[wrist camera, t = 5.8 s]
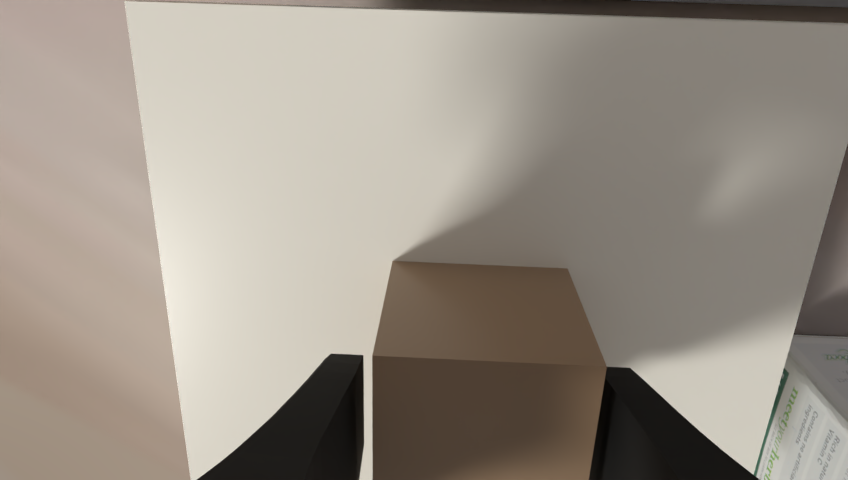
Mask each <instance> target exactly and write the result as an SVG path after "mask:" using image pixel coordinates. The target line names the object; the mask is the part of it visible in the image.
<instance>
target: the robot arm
mask: <svg viewBox="0 0 848 480" xmlns="http://www.w3.org/2000/svg"><path fill="white" fill-rule="evenodd" d="M363 449H364V362H363V355H352V354H330V355H329V356H328V357H326V358H325V359H324V360H323V362H322V363H321V364H320V365H319V366H318V367H317V369H316V370H315V371H314V372H313V373H312V374H311V375H310V377H309V378H308V379H307V380H306V381H305V382H304V383H303V384H302V385H301V387H300V388H299V389H298V390H297V391H296V392H295V393H294V394H293V395H292V396H291V397H290V398H289V399H288V400H287V401H286V402H285V403H284V404H283V405H282V406H281V407H280V409H279V410H278V411H277V412H276V413H275V414H274V415H273V416H272V417H271V418H270V419H269V420H268V421H266V422H265V423H264V424H263V425H262V426H261V427H260V428H259V429H258V430H257V431H255V432H254V433H253V434H252V435H251V436H250V437H249V438H248V439H247V440H246V441H244V442H243V443H242V444H241V445H240V446H239V447H238V448H237V449H235V450H234V451H233V452H232V453H231V454H229V455H228V456H227V457H226V458H225V459H223V460H222V461H221V462H219V463H218V464H217V465H216V466H214V467H213V468H212V469H210V470H209V471H208V472H206V473H205V474H204V475H202V476H201V477H200V478H198V479H197V480H359V477H360V470H361V463H362V456H363ZM589 480H760V479H758V478H757V477H756V476H754V475H753V474H752V473H750V472H749V471H748V470H747V469H745V468H744V467H743V466H742V465H740V464H739V463H738V462H736V461H735V460H734V459H733V458H731V457H730V456H729V455H728V454H726V453H725V452H724V451H723V450H721V449H720V448H719V447H718V446H717V445H715V444H714V443H713V442H712V441H711V440H710V439H708V438H707V437H706V436H705V435H704V434H703V433H701V432H700V431H699V430H698V429H697V428H696V427H695V426H693V425H692V424H691V423H690V422H689V421H688V420H687V419H686V418H684V417H683V416H682V415H681V414H680V413H679V412H678V411H677V410H676V409H675V408H673V407H672V406H671V405H670V404H669V403H668V402H667V401H666V400H665V399H664V398H663V397H662V396H661V395H659V394H658V393H657V392H656V391H655V390H654V389H653V388H652V387H651V386H650V385H649V384H648V383H647V382H645V381H644V380H643V379H642V378H641V377H640V376H639V375H638V374H637V373H635V372H634V371H633V370H632V369H631V368H626V367H607V369H606V375H605V381H604V388H603V394H602V400H601V406H600V413H599V419H598V425H597V431H596V437H595V444H594V450H593V456H592V462H591V468H590V475H589Z"/></svg>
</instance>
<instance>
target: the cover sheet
mask: <svg viewBox="0 0 848 480" xmlns="http://www.w3.org/2000/svg"><path fill="white" fill-rule="evenodd" d="M124 2H125V9H126V17H127V24H128V31H129V38H130V45H131V53H132V60H133V67H134V74H135V81H136V89H137V96H138V103H139V110H140V117H141V125H142V132H143V139H144V146H145V153H146V161H147V168H148V175H149V182H150V189H151V197H152V204H153V211H154V218H155V225H156V233H157V240H158V247H159V254H160V261H161V269H162V276H163V283H164V290H165V297H166V305H167V312H168V319H169V326H170V333H171V341H172V348H173V355H174V362H175V369H176V377H177V384H178V391H179V398H180V406H181V413H182V420H183V427H184V434H185V442H186V449H187V456H188V463H189V470H190V478H191V480H197V479H198V478H200V477H201V476H202V475H204V474H205V473H206V472H208V471H209V470H210V469H212V468H213V467H214V466H216V465H217V464H218V463H219V462H221V461H222V460H223V459H225V458H226V457H227V456H228V455H229V454H231V453H232V452H233V451H234V450H235V449H237V448H238V447H239V446H240V445H241V444H242V443H243V442H244V441H246V440H247V439H248V438H249V437H250V436H251V435H252V434H253V433H254V432H255V431H257V430H258V429H259V428H260V427H261V426H262V425H263V424H264V423H265V422H266V421H268V420H269V419H270V418H271V417H272V416H273V415H274V414H275V413H276V412H277V411H278V410H279V409H280V407H281V406H282V405H283V404H284V403H285V402H286V401H287V400H288V399H289V398H290V397H291V396H292V395H293V394H294V393H295V392H296V391H297V390H298V389H299V388H300V387H301V385H302V384H303V383H304V382H305V381H306V380H307V379H308V378H309V377H310V375H311V374H312V373H313V372H314V371H315V370H316V369H317V367H318V366H319V365H320V364H321V363H322V362H323V360H324V359H325V358H326V357H328V356H329V355H330V354H352V355H363V362H364V449H363V456H362V463H361V470H360V477H359V480H589V475H590V468H591V462H592V456H593V450H594V444H595V437H596V431H597V425H598V419H599V413H600V406H601V400H602V394H603V388H604V381H605V375H606V369H607V367H626V368H631V369H632V370H633V371H634V372H635V373H637V374H638V375H639V376H640V377H641V378H642V379H643V380H644V381H645V382H647V383H648V384H649V385H650V386H651V387H652V388H653V389H654V390H655V391H656V392H657V393H658V394H659V395H661V396H662V397H663V398H664V399H665V400H666V401H667V402H668V403H669V404H670V405H671V406H672V407H673V408H675V409H676V410H677V411H678V412H679V413H680V414H681V415H682V416H683V417H684V418H686V419H687V420H688V421H689V422H690V423H691V424H692V425H693V426H695V427H696V428H697V429H698V430H699V431H700V432H701V433H703V434H704V435H705V436H706V437H707V438H708V439H710V440H711V441H712V442H713V443H714V444H715V445H717V446H718V447H719V448H720V449H721V450H723V451H724V452H725V453H726V454H728V455H729V456H730V457H731V458H733V459H734V460H735V461H736V462H738V463H739V464H740V465H742V466H743V467H744V468H745V469H747V470H748V471H749V472H750V473H752V474H753V475H754V471H755V468H756V464H757V461H758V457H759V454H760V450H761V447H762V443H763V440H764V436H765V433H766V429H767V426H768V422H769V419H770V415H771V412H772V408H773V405H774V401H775V398H776V394H777V391H778V387H779V383H780V380H781V376H782V373H783V369H784V366H785V362H786V359H787V355H788V352H789V348H790V345H791V341H792V338H793V334H794V331H795V327H796V324H797V320H798V317H799V313H800V310H801V306H802V303H803V299H804V296H805V292H806V289H807V285H808V281H809V278H810V274H811V271H812V267H813V264H814V260H815V257H816V253H817V250H818V246H819V243H820V239H821V236H822V232H823V229H824V225H825V222H826V218H827V215H828V211H829V208H830V204H831V201H832V197H833V194H834V190H835V186H836V183H837V179H838V176H839V172H840V169H841V165H842V162H843V158H844V155H845V151H846V148H847V144H848V23H828V22H797V21H766V20H736V19H705V18H674V17H643V16H612V15H582V14H551V13H520V12H489V11H459V10H428V9H397V8H366V7H336V6H305V5H274V4H243V3H213V2H182V1H151V0H134V1H124Z"/></svg>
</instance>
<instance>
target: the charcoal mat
mask: <svg viewBox="0 0 848 480" xmlns="http://www.w3.org/2000/svg"><path fill="white" fill-rule="evenodd" d="M633 1H664V2H695V3H726V4H757V5H788V6H819V7H848V0H633Z"/></svg>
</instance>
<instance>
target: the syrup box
mask: <svg viewBox="0 0 848 480" xmlns="http://www.w3.org/2000/svg"><path fill="white" fill-rule="evenodd" d="M754 476H756V477H757V478H758V479H760V480H848V337H837V336H811V335H793V338H792V341H791V345H790V348H789V352H788V355H787V359H786V362H785V366H784V369H783V373H782V376H781V380H780V383H779V387H778V391H777V394H776V398H775V401H774V405H773V408H772V412H771V415H770V419H769V422H768V426H767V429H766V433H765V436H764V440H763V443H762V447H761V450H760V454H759V457H758V461H757V464H756V468H755V471H754Z"/></svg>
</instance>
